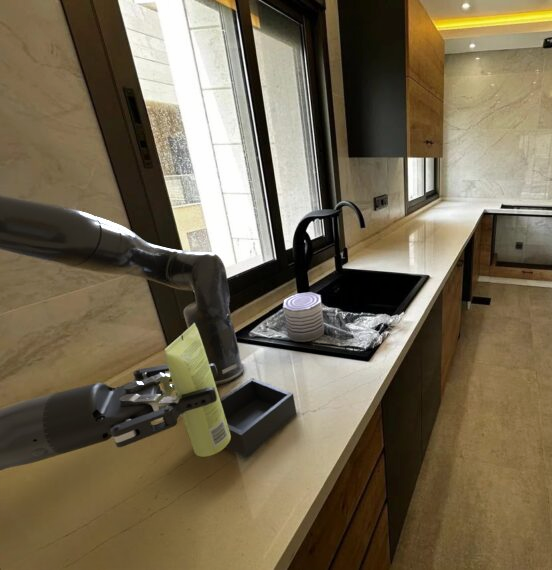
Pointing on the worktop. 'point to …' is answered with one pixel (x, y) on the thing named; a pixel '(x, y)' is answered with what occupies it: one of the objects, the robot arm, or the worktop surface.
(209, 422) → the tube
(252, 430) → the tub
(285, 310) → the can
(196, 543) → the worktop surface
